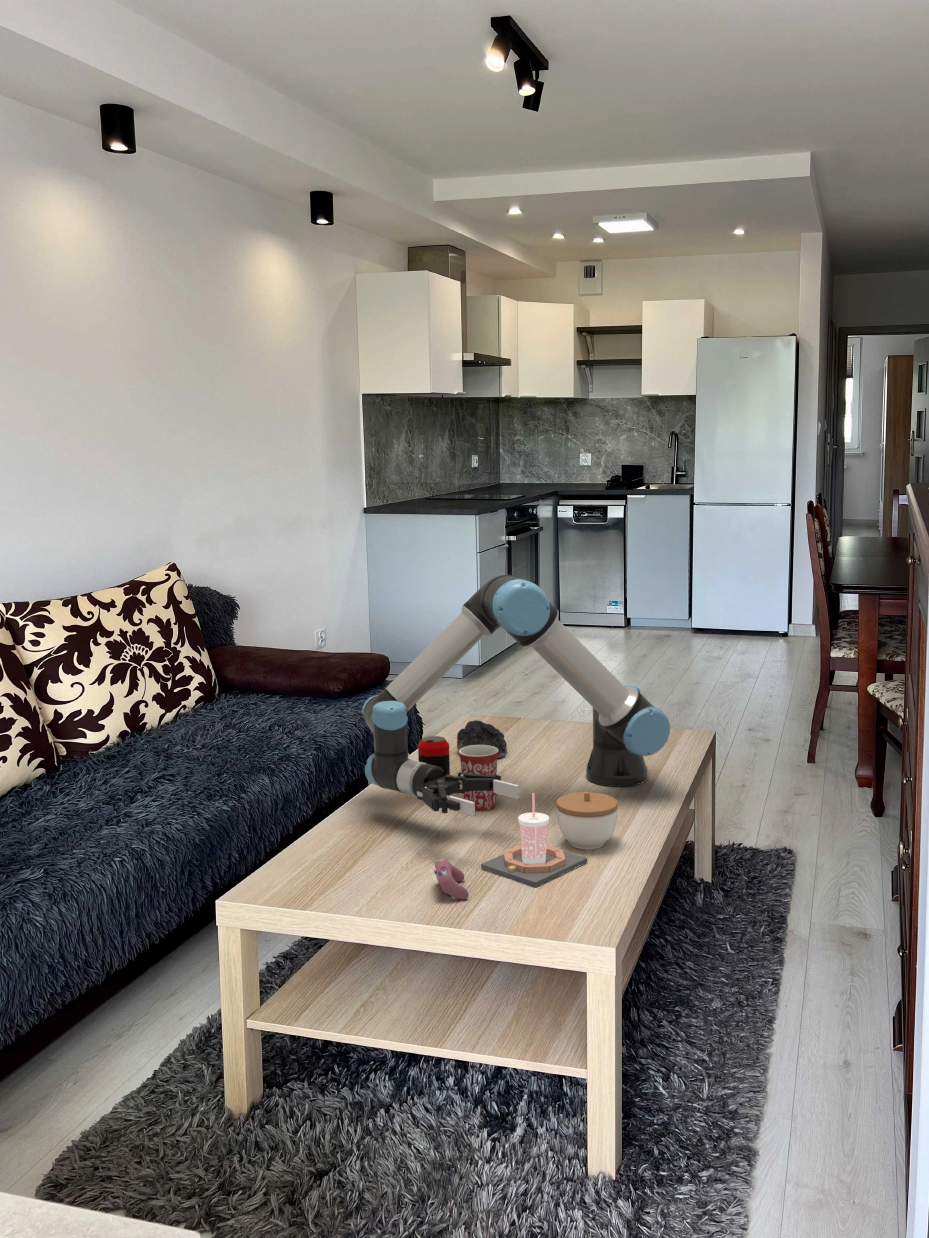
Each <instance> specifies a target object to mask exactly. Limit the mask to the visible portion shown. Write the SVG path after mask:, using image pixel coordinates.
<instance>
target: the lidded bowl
mask: <svg viewBox="0 0 929 1238" xmlns="http://www.w3.org/2000/svg"><path fill="white" fill-rule="evenodd" d="M618 806H619V803H618V801H617V799H616V798H614V797H613V796H610V795H609V794H606V793H600V792H593V791H592V792H591V791H583V792H580V791H579V792H572V793H568V794H564V795H562V796H560V797H559V798H557V799H556V809H557V811H556V812H557V813H556V814H557V822H558V823H557V824H558V827H559V830H560V832H561V834H562V836H563V837H564V838H565V839H566V841H567V842H569V844H570V846H571V847H573V848H576V849H580V850H587V849H589V850H597V849H601V848H603V847H604V846H605V843H607V842H608V841H609V840H610V839H611V837H612V835H613V834H614V831H615V829H616V826H617V819H618Z"/></svg>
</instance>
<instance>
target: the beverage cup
mask: <svg viewBox="0 0 929 1238" xmlns="http://www.w3.org/2000/svg"><path fill="white" fill-rule="evenodd" d="M531 794H532V796H531V799H532V800H531V801H532V812H525V813H522V814H520V815H518V818H517V820H518V824H519V830H520V843H521V844H520V845H521V847H522V861H523V863H526V864H536V863H545V861H546V846H547V845H548V843H547V841H548V825H549V823H550V816H549V815H548V814H545V813H543V812H536V801H535V800H536V797H535V794H536V793H535V792H532V793H531Z"/></svg>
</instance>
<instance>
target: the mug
mask: <svg viewBox="0 0 929 1238" xmlns="http://www.w3.org/2000/svg"><path fill="white" fill-rule="evenodd" d="M498 751H499V750H498V749H497V748H496V747H493V746H489V745H471V746H466V747H463V748H461V749H460V750H459V752H458V754H460V756H459V760H460V761H459V762H460V770H461V771H460V772H462V773H467V774H482V775H498V758H497V755H498ZM462 794H463V796H462V797H463V798H462V799H464V800H468V801H472V802H475V812H486V811H491V810H493V809H494V808H495V807H496V803H497V801H496V800H497V796H496V795H497V793H494V792H493V791H466V792H465V793H462Z"/></svg>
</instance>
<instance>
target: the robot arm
mask: <svg viewBox="0 0 929 1238" xmlns="http://www.w3.org/2000/svg"><path fill="white" fill-rule="evenodd" d="M559 613H560V612H559V610H558V609H557V608H556V607H555V605H553V603H552V602H551V601H550V600H549V598H548V596H547V595H546V593H545V592H544V590H543V588H541V587H540V586H538V584H535V583H534V582H532V581H529V580H527V579H522V578H520V577H517V576H515V575H512V574H499V575H497V576H493V578H491V579H489V580H488V581H486V582H485V583H484V584H483V585H482V586H481V587H480V588H479V589H478V590H477V591H476V592H475V593H474V594H473V595H472V596H471V597H470V598H469V599H468V600H467V601H465V603H464V604H462V606H461V613H460V614H459V615H458V616H456V617H455V618H454V620H452V622H451V623H449V625H447V627H446V628H445V629H443V631H441V633H440V634H439V635H438V636H436V637H435V638H434V639H433V640H432V641H431V642H430V644H428V645H427V646H426V647H425V648H424V649H423V651H421V652H420V653H419V654H418V655H417V656H416V658H414V659H413V661H411V662H410V663H409V664H408V665H407V667H406V668H404V670H402V671H401V672H400V673H399V674H398V675H397V676H396V677H395V678H394V679H393V680H392V681H391V682H390V683H389V684H388V685H387V686H386V687H385V688H384V689H383V690H382V691H381V692H380V693H378V694H377V695H373V696H371V697H368V699H366V700H365V702H364V704H363V706H362V711H361V712H362V717H363V721H364V722H365V725H366V726H367V727H368V728H369V729H370V731H371V733H372V735H373V748H374V750H373V753H372V754H371V755H369V757H368V758H367V760H366V765H365V766H364V773H365V774H364V775H365V777H366V779H367V780H368V782H369V783H371V784H373V785H374V786H377V787H380V788H382V789H386V790H390V791H395V792H399V793H402V794H406V795H408V796H411V797H412V798H417V800H420V801H422V802H423V803H425V805H426V806H427V807H428V808H430V810H431V811H433V812H439V811H440V809H441V813H442V814H448V810H449V811H452V812H456V813H459V814H464V815H466V816H470V817H474V816H475V815H476V811H475V802H472V801H468V800H464V798H460V797H457V796H453V795H454V794H463V793H465V792H466V791H493V792H494V793H496V795H497V794H498V795H501V796H505V797H509V798H512V799H517V800H518V799H520V785H519V784H515V783H510V782H507V781H503V780H502V776H501V775H498V774H497V775H482V774H467V773H462V772H461V771H459V772H457V775H455V776H454V775H452V774H450V775H446V773H445V772H444V770H443V769H442V768H440V767H438V766H434V765H430V764H426V763H423V762H419V760H414V759H410V758H409V748H408V745H409V744H408V743H409V742H408V741H409V739H408V720H409V719H408V715H407V713H408V712H409V711H410V710H411V708H413V706H415V704H417V702H419V701H420V700H421V699H422V698H423V697H424V695H426V694H427V693H428V691H430V690H431V689H432V688H433V687H434V686H435V685H436V684H437V683H438V682H439V681H440V680H441V679H442V678H443V677H444V676H445V675H446V674H447V673H448V672H449V671H450V670H451V669H452V668H453V667H454V666H456V664H457V663H458V662H459V661H460V660H461V659H462V658H463V657H464V656H465V655H466V654H467V653H468V652H470V651H471V649H472V648H473V647H475V645H477V643H479V641H480V640H481V639H483V637H487V636H491V635H492V634H493V633H495V632H496V631H497V630H498V629H499V628H502V629H503V630H504V631H505V632H506V633H507V634H508V635H509V636H510V637H511V638H512V639H513V640H515V642H516V643H517V644H519V646H520V647H522V648H532V649H533V650H534V651H535V652H536V653H537V654H538V655H539V656H540V657H541V658H542V659H544V661H545V662H546V663H547V664H548V665H550V667H552V669H554V671H555V672H556V673H558V674H559V675H560V677H561V678H563V679H564V681H566V682H567V683H568V684H569V685H570V687H572V688H573V689H574V690H575V692H577V693H578V694H579V696H581V698H582V699H584V700H585V701H586V702H587V703H588V704H589V705H590V706H591V707H592V738H593V739H592V749H591V752H590V755H589V758H588V762H587V765H586V769H585V778H586V779H587V780H588V782H591V783H594V784H598V785H602V786H605V787H607V786H608V787H631V786H637V785H640V784H643V783H645V782H646V781H647V780H648V767H647V764H646V761H645V757H648V756H652V755H654V754H656V753H658V752H659V751H661V750H662V749H663V748H664V747H665V745H666V744H667V742H668V741H669V738H670V734H671V724H670V720H669V718H668V716H667V715H666V713H665V712H664V710H662V709H660V708H658V707H655V705H653V704H652V703H651V702H650V701H649V700H648V699H647V698H646V697H645V696H644V695H643V694H642V693H641V691H642V690H641V688H640V687H639V686H636V685H624V684H623V683H622V682H620V680H619V679H617V677H616V676H615V675H614V674H613V673H612V672H611V671H610V670H609V669H608V668H607V667H606V666H605V665H604V664H603V663H602V662H601V661H600V660H599V659H598V658H597V656H595V655H594V654H593V653H592V652H591V651H590V650H589V649H588V648H587V647H586V646H585V645H584V644H583V643H582V642H581V641H580V640H579V639H578V638H577V637H576V636H575V635H574V634H573V633H572V632H571V631H570V630H569V629H568V628H567V627H566V626H565V625H564V624H563V623H562V622H561V620H559V616H560V615H559ZM646 779H647V780H646ZM645 780H646V781H645ZM644 781H645V782H644ZM642 782H643V783H642ZM639 783H640V784H639ZM460 787H461V788H460Z"/></svg>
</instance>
